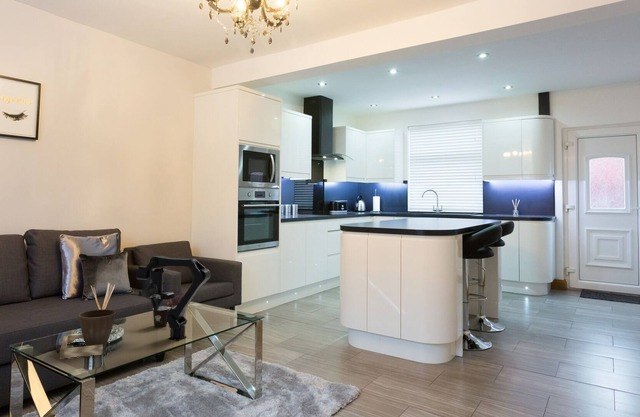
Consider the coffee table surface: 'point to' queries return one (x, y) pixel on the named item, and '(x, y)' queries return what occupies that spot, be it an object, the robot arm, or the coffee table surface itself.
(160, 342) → the coffee table surface
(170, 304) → the red grape bunch
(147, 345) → the coffee table surface
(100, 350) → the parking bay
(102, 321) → the plant pot
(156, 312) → the coffee mug
